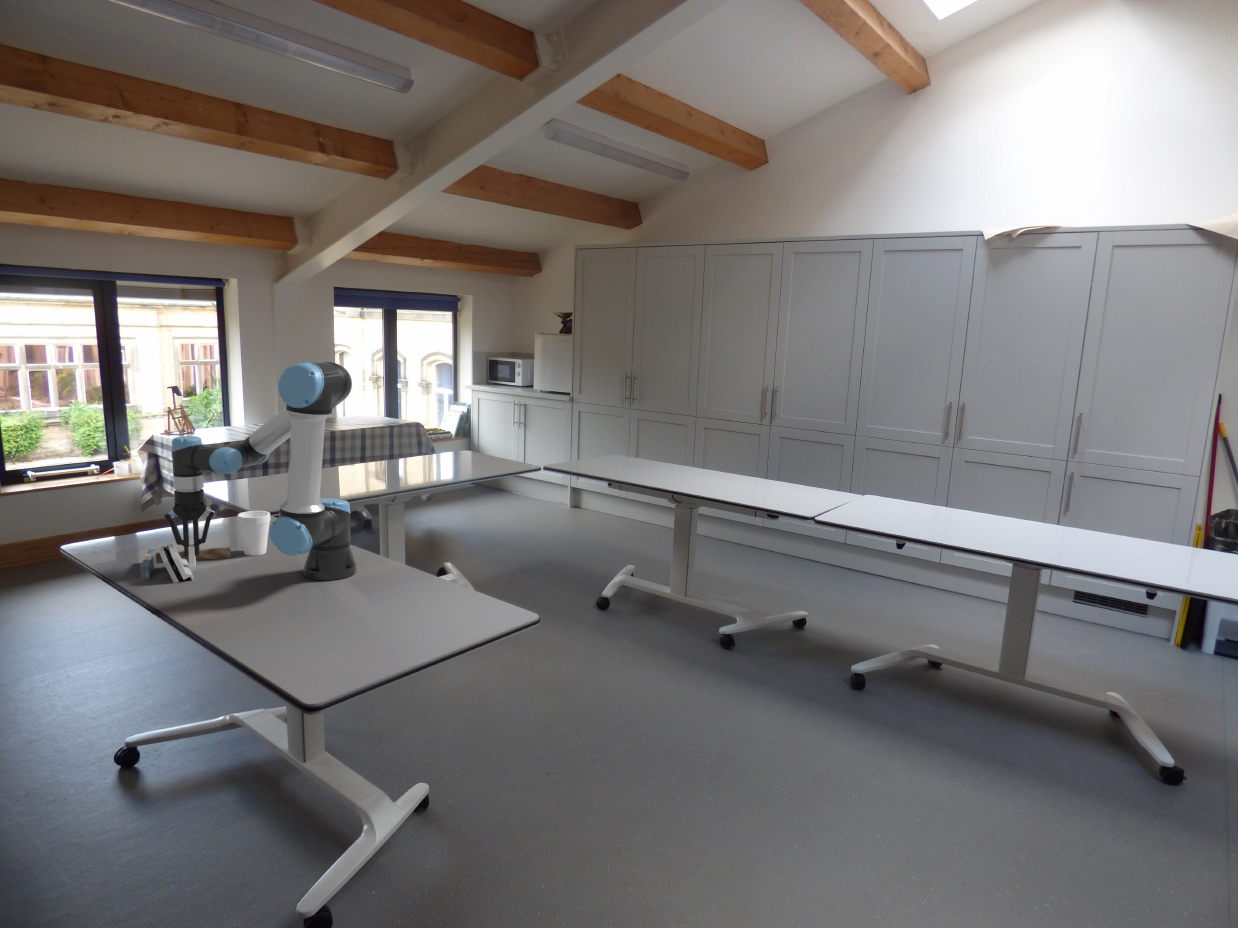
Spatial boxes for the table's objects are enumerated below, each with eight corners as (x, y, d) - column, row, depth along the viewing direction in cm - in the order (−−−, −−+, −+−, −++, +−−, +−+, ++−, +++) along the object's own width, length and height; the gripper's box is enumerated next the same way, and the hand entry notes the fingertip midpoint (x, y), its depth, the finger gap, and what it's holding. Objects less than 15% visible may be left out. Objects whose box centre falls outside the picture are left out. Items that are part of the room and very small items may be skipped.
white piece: (194, 580, 207) (179, 550, 203) (176, 588, 204) (160, 558, 201) (188, 564, 220) (174, 535, 217) (172, 571, 218) (157, 542, 214)
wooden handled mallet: (230, 556, 230) (230, 543, 229) (228, 572, 215) (227, 559, 214) (149, 562, 220) (148, 548, 219) (140, 579, 205) (139, 565, 204)
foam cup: (277, 549, 238) (275, 512, 236) (260, 558, 229) (259, 518, 227) (250, 547, 239) (248, 509, 237) (232, 555, 230) (231, 516, 228)
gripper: (215, 485, 216) (218, 560, 220) (164, 487, 210) (168, 564, 214) (213, 490, 209) (216, 568, 213) (161, 492, 204) (165, 572, 208)
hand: (192, 566), depth 214 cm, fingers closed
